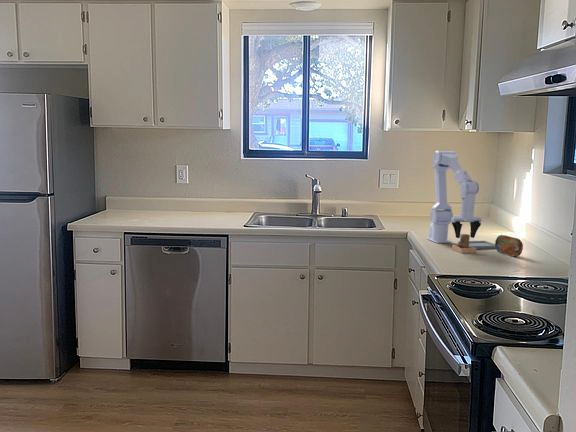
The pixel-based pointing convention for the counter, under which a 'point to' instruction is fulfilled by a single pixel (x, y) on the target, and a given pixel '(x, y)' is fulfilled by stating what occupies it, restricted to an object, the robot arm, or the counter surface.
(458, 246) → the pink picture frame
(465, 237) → the brown rounded cylinder
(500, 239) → the tin
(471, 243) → the tray
